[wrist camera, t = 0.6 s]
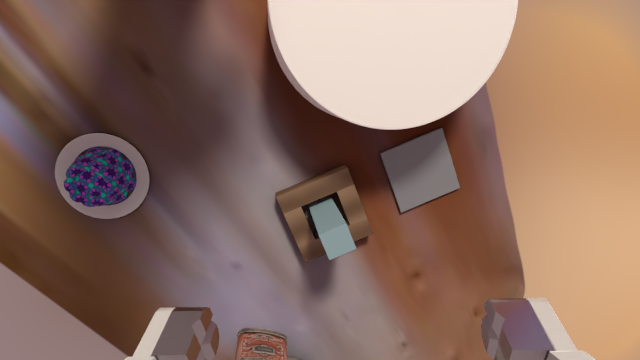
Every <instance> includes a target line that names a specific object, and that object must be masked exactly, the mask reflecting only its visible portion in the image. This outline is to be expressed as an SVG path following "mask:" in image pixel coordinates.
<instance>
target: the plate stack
mask: <svg viewBox="0 0 640 360" xmlns="http://www.w3.org/2000/svg"><path fill="white" fill-rule="evenodd" d="M267 2H268V27H269V34H270V39H271V43H272V46H273V50H274V53H275V55H276V58H277V60H278V63H279V65H280V67H281V69H282V70H283V72H284V74H285V75H286V77H287V78H288V80H289V81H290V83H291V84H292V85H293V86H294V88H295V89H296V90H297V91H298V92H299V93H300V94H301V95H302V96H303V97H304V98H305V99H306V100H308V101H309V102H310V103H311V104H313V105H314V106H316V107H317V108H319V109H321V110H322V111H324V112H326V113H328V114H330V115H333V116H335V117H338V118H341V119H343V120H346V121H349V122H351V123H354V124H357V125H360V126H364V127H368V128H374V129H383V130H399V129H408V128H413V127H418V126H422V125H425V124H428V123H431V122H433V121H436V120H438V119H440V118H442V117H444V116H446V115H448V114H450V113H451V112H453V111H454V110H456V109H457V108H459V107H460V106H462V105H463V104H464V103H465V102H467V101H468V100H469V99H470V98H471V97H472V96H473V95H474V94H475V93H476V92H477V91H478V90H479V89H480V88H481V87H482V86H483V85H484V84H485V82H486V81H487V80H488V78H489V77H490V76H491V74H492V73H493V71H494V70H495V68H496V67H497V65H498V63H499V61H500V59H501V58H502V56H503V54H504V52H505V49H506V47H507V45H508V42H509V39H510V37H511V33H512V30H513V26H514V22H515V18H516V13H517V6H518V0H267Z"/></svg>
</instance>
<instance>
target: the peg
mask: <svg viewBox="0 0 640 360" xmlns="http://www.w3.org/2000/svg"><path fill="white" fill-rule="evenodd" d="M308 206H309V209H310V212H311V215H312V217H313V220H314V223H315V226H316V229H317V232H318V235H319V237H320V239H321V242H322V244H323V246H324V249H325V251H326V254H327V256H328V258H329V260H331V259H333V258H336V257H338V256H340V255H343V254H345V253H347V252H350V251H352V250H354V249H356V246H355V244H354V241H353V239H352V236H351V234H350V231H349V229H348V226H347V224H346V222H345V220H344V218H343V217H342V215H341V213H340V212H339V210H338V208H337V206H336V205H335V203H334V201H333V200H332V198H331V196H329V197H326V198H324V199H322V200H319V201H317V202H315V203H312V204H310V205H308Z"/></svg>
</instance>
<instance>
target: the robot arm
mask: <svg viewBox="0 0 640 360" xmlns="http://www.w3.org/2000/svg"><path fill="white" fill-rule="evenodd" d="M484 308H485V311H486V314H487V315H486V316H485V317H484V318H482V324H481V331H482V339H483V343H484V346H485V349H486V352H487V353H488V354H489V355H490V356H491V357H492V358H494V360H596V359H595V358H593V357H592V356H591V355H589V354H588V353H587V352H585V351H582V350H577V348H576V347H575V345H574V343H573V342H572V340H571V338H570V337H569V335H568V333H567V332H566V330H565V328H564V327H563V325H562V324H561V322H560V320H559V318H558V317H557V315H556V313H555V312H554V310H553V308H552V307H551V305H550V303H549V302H548V300H546V299H545V298H505V299H488V300H487V301H486V303H485V307H484ZM212 315H213V314H212V312H211V310H210V308H208V307H172V308H159V309H158V310H157V311H156V312H155V314H154V316H153V318H152V320H151V322H150V323H149V325H148V327H147V329H146V331H145V333H144V335H143V337H142V339H141V341H140V343H139V345H138V346H137V348H136V350H135V352H134V354H133V356H132V357H127V358H125V359H124V360H212V359H213V358H214V357H215V356H216V352H217V349H218V343H219V332H218V328H217V325H216V324H215V323H214V322H212V321H211V318H212Z"/></svg>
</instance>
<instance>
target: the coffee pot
mask: <svg viewBox="0 0 640 360" xmlns="http://www.w3.org/2000/svg"><path fill="white" fill-rule="evenodd" d="M287 360H302V359H300V358H296V357H293V356H287Z"/></svg>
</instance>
